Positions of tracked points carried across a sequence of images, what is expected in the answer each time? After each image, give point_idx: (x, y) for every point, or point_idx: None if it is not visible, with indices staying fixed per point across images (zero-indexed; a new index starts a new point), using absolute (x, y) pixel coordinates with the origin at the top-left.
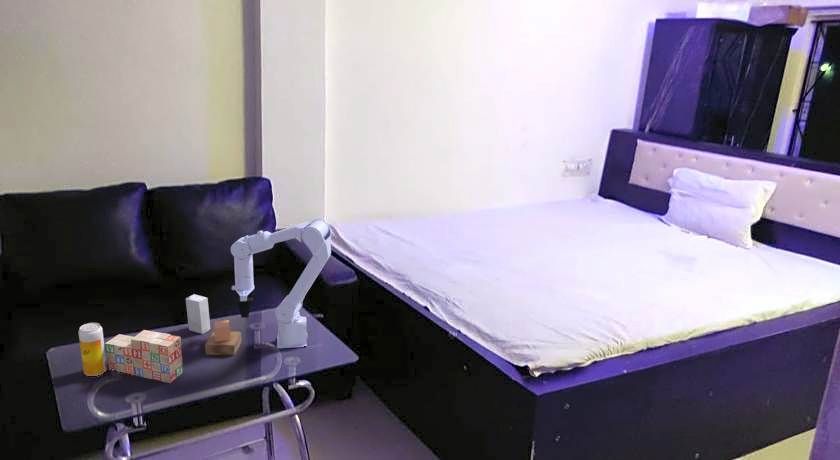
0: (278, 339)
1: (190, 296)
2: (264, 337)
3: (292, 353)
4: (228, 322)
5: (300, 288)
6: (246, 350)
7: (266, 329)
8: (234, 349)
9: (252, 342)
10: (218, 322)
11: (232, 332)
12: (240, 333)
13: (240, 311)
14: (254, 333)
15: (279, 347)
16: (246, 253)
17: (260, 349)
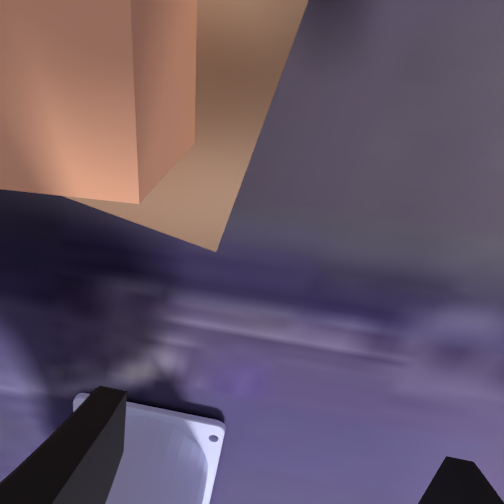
0: (128, 432)
1: None
2: (249, 358)
3: (21, 436)
4: (49, 184)
5: None
6: (81, 223)
7: (363, 389)
8: None
9: (195, 280)
10: (65, 1)
11: (222, 173)
12: (196, 241)
13: (11, 478)
14: (333, 315)
15: (74, 405)
16: None
17: (84, 308)
